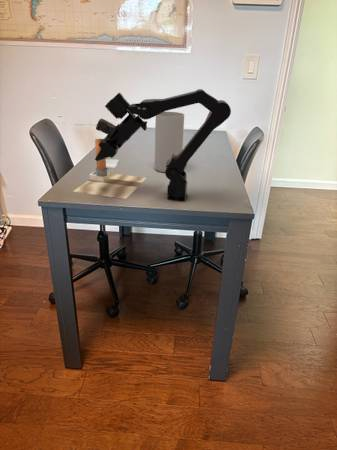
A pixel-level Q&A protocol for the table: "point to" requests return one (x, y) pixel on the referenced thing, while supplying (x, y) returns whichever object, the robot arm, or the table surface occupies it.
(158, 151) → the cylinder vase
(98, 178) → the block
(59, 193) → the table surface
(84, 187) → the subfloor board
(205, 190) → the table surface
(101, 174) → the awl
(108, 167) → the hard drive
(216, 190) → the table surface
